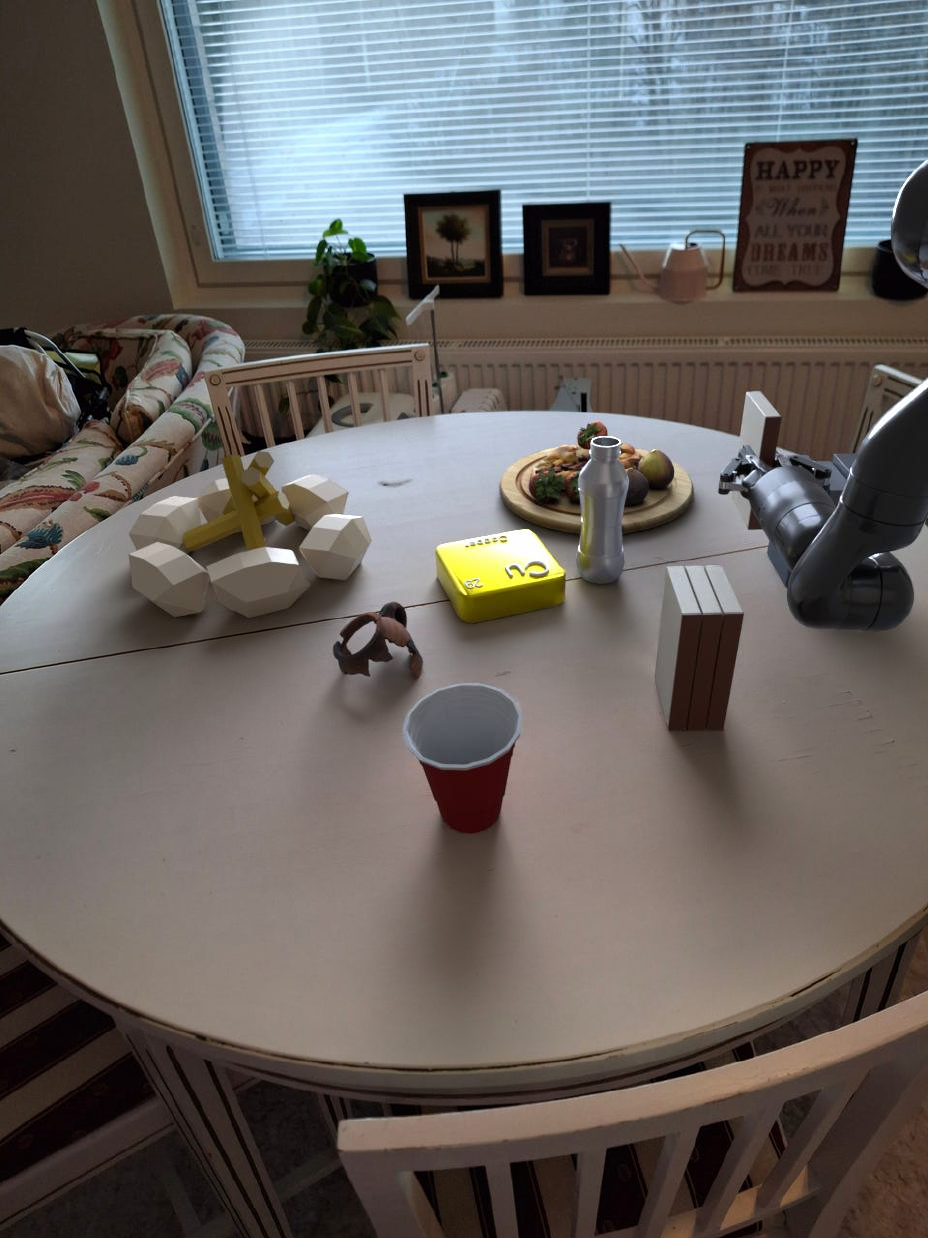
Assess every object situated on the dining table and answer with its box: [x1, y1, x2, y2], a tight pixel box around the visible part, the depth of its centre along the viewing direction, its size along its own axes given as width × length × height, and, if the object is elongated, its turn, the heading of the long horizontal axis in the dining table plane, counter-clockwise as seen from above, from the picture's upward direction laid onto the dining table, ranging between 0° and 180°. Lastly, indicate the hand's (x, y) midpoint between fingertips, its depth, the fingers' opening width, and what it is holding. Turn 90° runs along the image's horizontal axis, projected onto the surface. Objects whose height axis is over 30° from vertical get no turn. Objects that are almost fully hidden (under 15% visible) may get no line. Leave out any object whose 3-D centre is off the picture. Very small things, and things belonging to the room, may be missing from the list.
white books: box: [654, 564, 745, 732], centre depth 85 cm, size 6×9×15 cm, turn 178°
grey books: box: [766, 452, 857, 587], centre depth 107 cm, size 9×9×15 cm
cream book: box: [730, 390, 783, 531], centre depth 103 cm, size 2×9×15 cm, turn 178°
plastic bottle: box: [575, 436, 629, 584], centre depth 107 cm, size 6×7×20 cm
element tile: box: [434, 529, 567, 624], centre depth 110 cm, size 15×15×5 cm
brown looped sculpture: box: [332, 601, 424, 679], centre depth 97 cm, size 12×10×8 cm
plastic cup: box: [401, 682, 524, 835], centre depth 74 cm, size 11×11×12 cm
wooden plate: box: [498, 421, 695, 535], centre depth 132 cm, size 32×32×8 cm
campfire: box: [128, 450, 373, 619], centre depth 116 cm, size 35×34×17 cm
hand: (754, 451), depth 103 cm, fingers closed on cream book, 2 cm apart
